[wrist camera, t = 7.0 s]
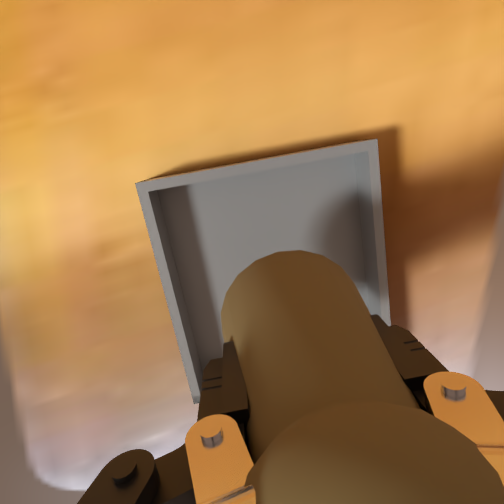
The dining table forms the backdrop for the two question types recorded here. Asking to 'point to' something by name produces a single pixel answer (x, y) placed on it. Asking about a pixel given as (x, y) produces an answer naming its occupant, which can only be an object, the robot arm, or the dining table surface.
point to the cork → (336, 398)
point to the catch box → (262, 232)
